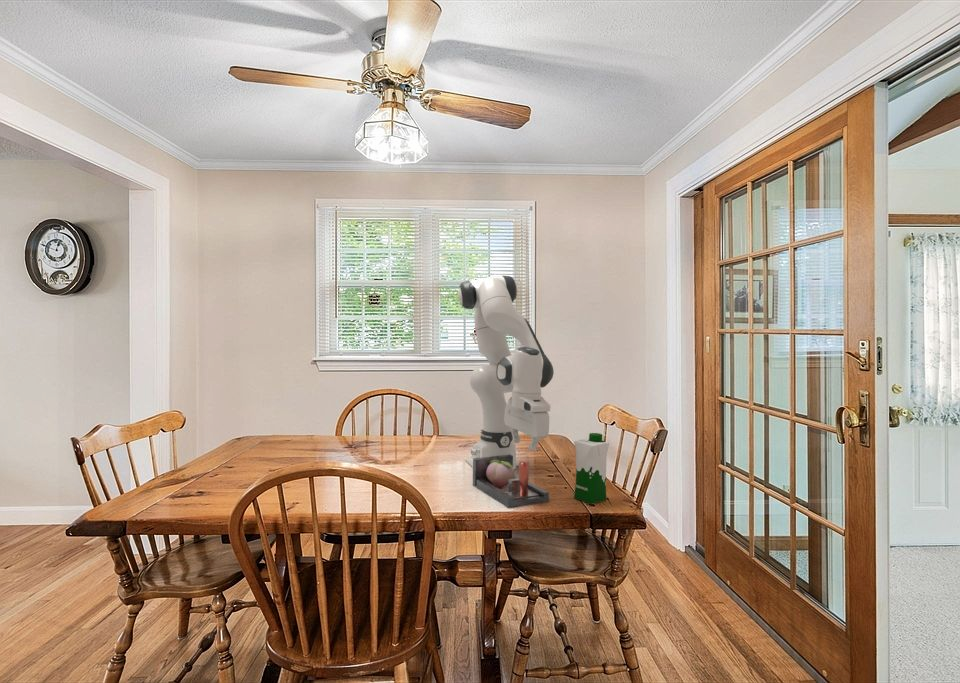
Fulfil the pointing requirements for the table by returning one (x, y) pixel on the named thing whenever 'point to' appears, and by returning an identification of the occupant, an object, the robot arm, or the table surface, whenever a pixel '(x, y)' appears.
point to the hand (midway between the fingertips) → (524, 446)
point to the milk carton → (591, 469)
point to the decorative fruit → (500, 473)
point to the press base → (497, 494)
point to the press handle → (521, 484)
